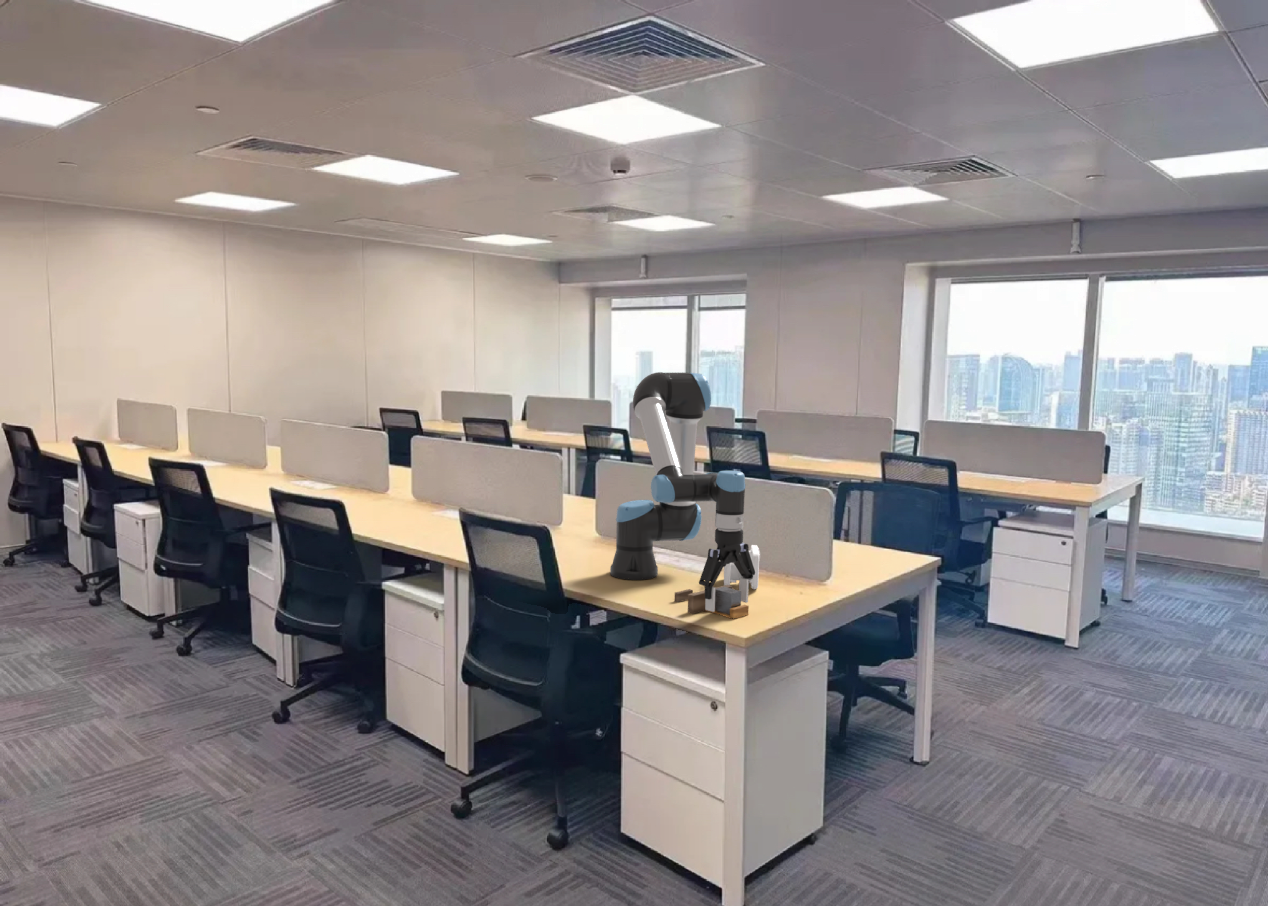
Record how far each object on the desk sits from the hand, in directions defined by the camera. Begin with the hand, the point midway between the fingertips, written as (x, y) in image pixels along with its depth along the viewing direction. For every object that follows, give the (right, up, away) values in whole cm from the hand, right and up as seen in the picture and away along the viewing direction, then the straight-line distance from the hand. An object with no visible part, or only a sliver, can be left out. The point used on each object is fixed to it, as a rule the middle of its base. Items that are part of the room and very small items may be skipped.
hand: (726, 605), depth 231 cm
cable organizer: (+8, +1, +30) cm, 31 cm away
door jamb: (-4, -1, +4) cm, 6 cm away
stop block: (0, -2, 0) cm, 2 cm away
